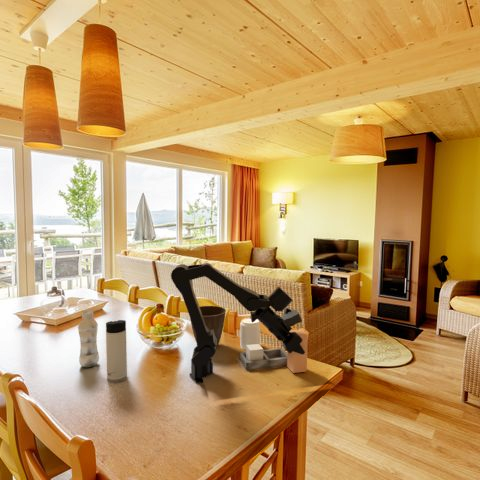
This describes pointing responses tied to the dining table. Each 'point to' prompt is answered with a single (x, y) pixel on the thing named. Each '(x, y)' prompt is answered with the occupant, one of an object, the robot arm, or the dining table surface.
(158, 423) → the dining table surface
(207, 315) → the plant pot
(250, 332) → the beverage can
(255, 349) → the cream white block
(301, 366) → the jaw tall
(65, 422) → the dining table surface
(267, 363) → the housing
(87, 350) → the plastic bottle
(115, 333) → the travel mug
